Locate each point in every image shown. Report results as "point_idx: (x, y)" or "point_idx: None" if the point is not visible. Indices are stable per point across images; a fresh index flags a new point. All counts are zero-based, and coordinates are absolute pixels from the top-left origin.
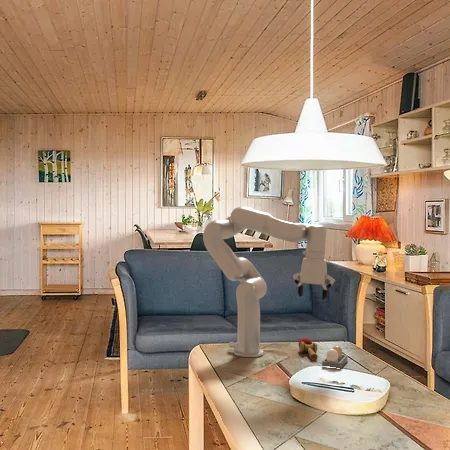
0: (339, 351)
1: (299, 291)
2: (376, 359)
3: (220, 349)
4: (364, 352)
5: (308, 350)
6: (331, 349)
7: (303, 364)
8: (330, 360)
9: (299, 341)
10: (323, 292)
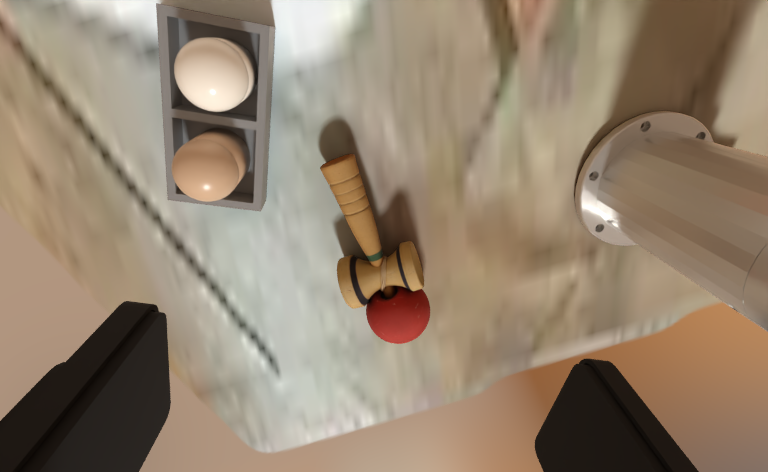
0: (183, 145)
1: (662, 434)
2: (58, 260)
3: None
4: None
5: (374, 226)
6: (205, 70)
7: (379, 63)
8: (221, 38)
9: (428, 312)
10: (30, 424)
